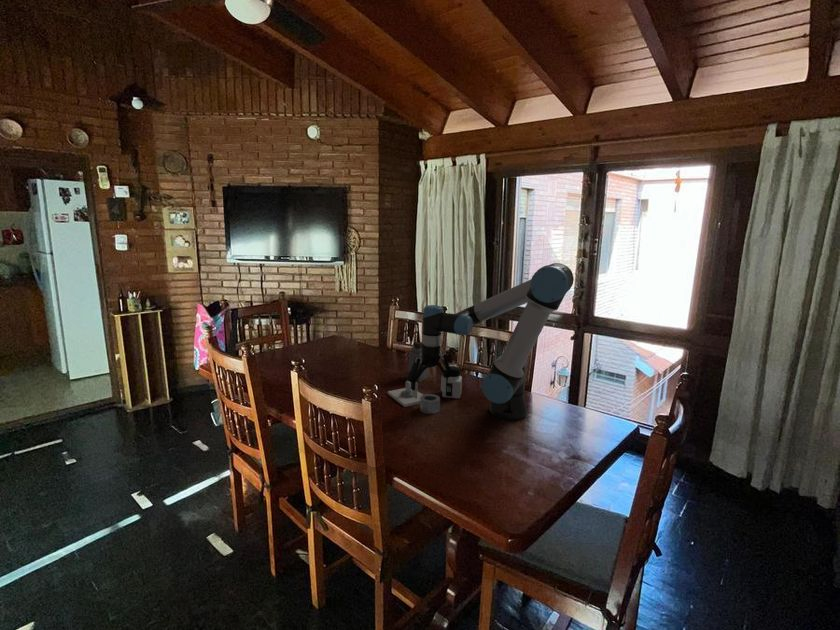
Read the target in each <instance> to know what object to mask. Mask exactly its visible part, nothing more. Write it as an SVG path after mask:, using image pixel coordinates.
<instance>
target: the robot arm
mask: <svg viewBox="0 0 840 630" xmlns="http://www.w3.org/2000/svg"><path fill="white" fill-rule="evenodd" d="M574 282H575V279H574V273H573V271H572V270H571V268H570V267H569V266H567V265H566V264H563V263H560V262H554V263H551V264H547V265H544V266H542V267H540V268H538V270H536V272H534V274H533V275H532V277H531V279H529V280H526V281H524V282H522V283H520V284H518V285H516V286H513V287H511V288H509V289H507V290H504V291H502V292H500V293H497V294H496V295H493V296H491V297H489V298H486V299H484V300H482V301H480V302H477V303H475V304H474V305H471V306H469V307H466V308H464V309H463V310H460V311H459V312H456V313H449V312H444V310H443V306H439V305H435V304H430V305H425V306H424V308H423V313H422V333H421V334H422V338H421V342H422V343H423V344H422V357H421V358H417V357H415V359H414V364H413V366H412V368H411V370H410V372H409V371H408V375H407V377H406V381H409V382H411V389H412V396H413V397H414V398H415V399H416V398H417V391H418V388H419V387H418V384H419V383H418V381H417V380H418V378H419V377H420V376H421V374H422V373H423V372H424V370H426V369H427V367H428V369H429V368H435V367H436V368H437V369H438V370H439V372H440V374H442V375H441V377H440V391H441V392H444V393H446V384H447V383H448V378H449V377H450V375H452V371H451V369H450V366H451V365H450V364H449V360H448V355H447V354H445V353H443V352H441V344H442V333H449V334H455V335H457V336H468V335H470V334H471V332H472V330H473V327H474V326H476V325H478V324H480V323H482V322H486V321H487V320H489V319H492V318H495V317H497V316H500V315H502V314H504V313H506V312H509V311H510V310H511V311H512V310H513V309H516V308H517V307H521V306H523V305H525V304H526V305H525V307H524V309H523V311H522V313H521V315H520V317H519V318H518V319H519V320H518V322H517V323H516V325H515V327H514V330H513V332H512V334H511V335H510V337H509V339H508V342H507V343H506V345H505V348H504V350H503V351H502V354H501V355H500V356H498V357H497V358H496V359H495V360H494V361H493V363H492V364H491V367H490V369H489V371H488V372H487V374H486V375H485V376H484V377H483V379H482V381H481V392H482V393H483V395H484V397H485V398H486V399H487V400H488V401H490V403H489V409H488V410H489V412H490V413H491V415H492V416H494V417H496V418H500V419H503V420H511V421H513V420H514V421H515V420H516V421H517V420H521V419H524V418H525V417H527V416H528V406H527V402H526V397H525V390H526V389H525V387H526V386H525V385H526V375H527V374H526V373H527V372H526V371H527V360H528V357H529V356H530V354H531V352H532V350H533V349H534V346H535V344H536V342H537V340H538V338H539V337H540V334H541V333H542V331H543V328H544V326H545V325H546V324H547V321H548V319H549V317H550V315H551V313H553V312H555V311H558V310H559V308H560V306H561V304H562V302H563V300H564V298H565V296H566V294H567V293H568V292H569V291H570V290H571V289H572V287H573V285H574ZM421 361H422V363H421ZM439 361H441V362H442V364H443V366H442V364H441V363H440V362H439ZM420 363H421V364H420ZM419 364H420V367H419ZM423 365H425V366H423ZM418 367H419V368H418ZM417 369H418V370H417ZM445 370H446V371H445Z"/></svg>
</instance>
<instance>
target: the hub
mask: <svg viewBox="0 0 840 630" xmlns="http://www.w3.org/2000/svg"><path fill="white" fill-rule="evenodd" d="M419 406H420V407H419V411H420V412H422V413H424V414H429V415H431V414H432V415H434V414H438V413H439V412H440V411H441V397H440V395H437V394H431V393H430V394H429V393H427V394H426V393H425V394H423V395H422V396H421V397H420V404H419Z"/></svg>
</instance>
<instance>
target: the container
mask: <svg viewBox="0 0 840 630" xmlns="http://www.w3.org/2000/svg"><path fill="white" fill-rule="evenodd" d="M449 366H450V369H451V371H452V375H450V377H449V378H448V383H447V384H446V393H444V392H442V391H441V392H442V393H441V394H442V396H441V397H443V398H452V399H460V398H461V395H462V392H463V391H462V387H463V386H462V385H463V376H461V367H459V366H458V365H449ZM444 370H445V369H444ZM445 371H446V370H445Z"/></svg>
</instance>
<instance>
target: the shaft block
mask: <svg viewBox="0 0 840 630" xmlns="http://www.w3.org/2000/svg"><path fill="white" fill-rule="evenodd" d="M387 395H388V396H390V397H391V398H392V399H394V400H395V401H396V402H398V403H399V404H400V405H401V406H402V407H404V408H405V407H406V408H407V407H412V406H415V405H420V397H421V396H422V395H424V393H421V392H419V390H417V398H416V399H415V398H414V397H413V396H412V389H411V382H409V381H408V380H406V381H405V387H404V388H397V389H393V390H388V391H387Z"/></svg>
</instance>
